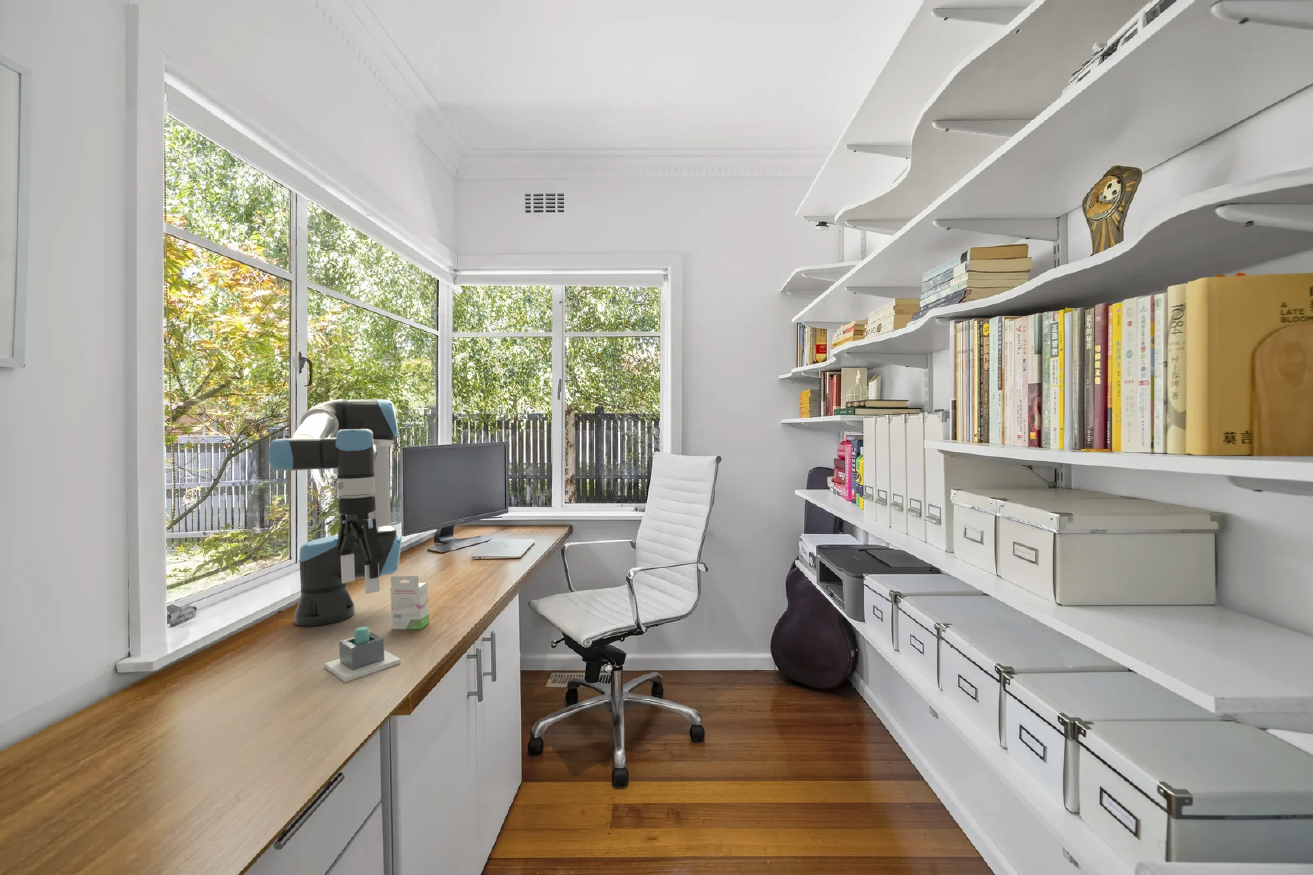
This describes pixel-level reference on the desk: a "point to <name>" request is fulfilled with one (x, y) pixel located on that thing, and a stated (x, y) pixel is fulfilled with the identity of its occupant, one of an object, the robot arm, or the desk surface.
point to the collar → (361, 652)
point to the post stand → (348, 675)
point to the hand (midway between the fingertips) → (360, 586)
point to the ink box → (409, 603)
